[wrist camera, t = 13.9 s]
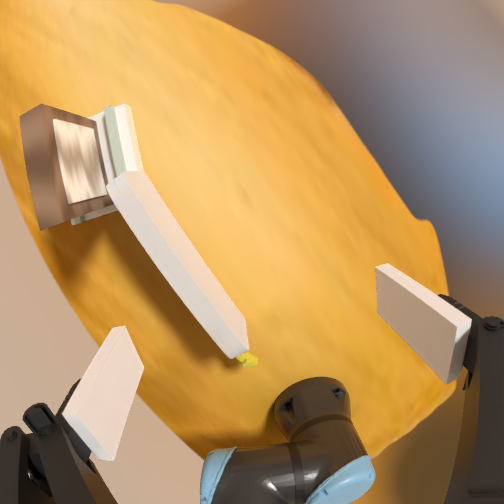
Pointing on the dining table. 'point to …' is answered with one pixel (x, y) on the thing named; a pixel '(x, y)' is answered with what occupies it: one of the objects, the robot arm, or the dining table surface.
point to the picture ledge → (115, 149)
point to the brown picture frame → (63, 165)
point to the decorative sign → (180, 263)
